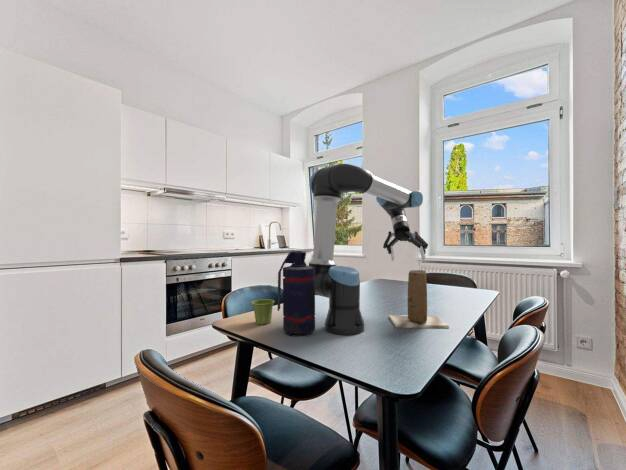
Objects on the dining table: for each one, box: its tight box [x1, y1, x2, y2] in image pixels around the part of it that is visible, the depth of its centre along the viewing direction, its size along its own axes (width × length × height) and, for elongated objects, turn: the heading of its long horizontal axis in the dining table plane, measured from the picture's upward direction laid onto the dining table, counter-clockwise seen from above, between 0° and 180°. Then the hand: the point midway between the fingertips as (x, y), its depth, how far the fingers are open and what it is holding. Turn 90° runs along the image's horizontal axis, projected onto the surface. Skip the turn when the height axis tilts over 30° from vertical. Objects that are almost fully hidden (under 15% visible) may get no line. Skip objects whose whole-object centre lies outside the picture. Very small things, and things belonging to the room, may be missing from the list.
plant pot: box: [251, 298, 275, 326], centre depth 125 cm, size 9×9×9 cm
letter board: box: [388, 314, 450, 329], centre depth 124 cm, size 20×14×1 cm
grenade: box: [276, 250, 316, 337], centre depth 113 cm, size 14×12×30 cm
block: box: [407, 269, 428, 323], centre depth 124 cm, size 11×8×20 cm
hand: (408, 258), depth 136 cm, fingers open, 13 cm apart
